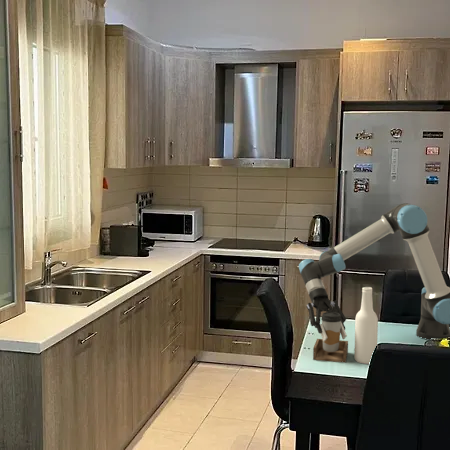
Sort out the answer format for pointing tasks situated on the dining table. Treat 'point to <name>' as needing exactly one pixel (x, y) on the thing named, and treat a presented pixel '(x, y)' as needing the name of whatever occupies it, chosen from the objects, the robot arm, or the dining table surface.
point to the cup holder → (330, 356)
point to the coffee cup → (331, 330)
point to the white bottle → (365, 328)
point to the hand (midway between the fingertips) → (335, 338)
